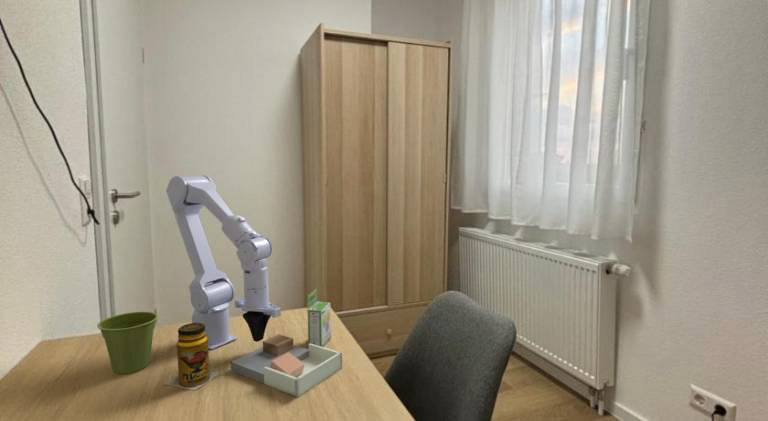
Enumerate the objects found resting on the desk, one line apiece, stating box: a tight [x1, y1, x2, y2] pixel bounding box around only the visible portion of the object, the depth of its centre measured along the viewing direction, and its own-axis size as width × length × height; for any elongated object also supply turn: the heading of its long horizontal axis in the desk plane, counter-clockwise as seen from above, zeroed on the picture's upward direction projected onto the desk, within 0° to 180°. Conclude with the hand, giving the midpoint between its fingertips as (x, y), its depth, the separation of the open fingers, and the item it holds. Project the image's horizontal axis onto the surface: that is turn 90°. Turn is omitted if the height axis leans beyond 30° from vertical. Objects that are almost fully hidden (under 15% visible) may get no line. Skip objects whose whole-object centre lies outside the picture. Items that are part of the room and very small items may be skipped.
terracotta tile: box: [270, 352, 305, 377], centre depth 89 cm, size 5×5×2 cm
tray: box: [263, 343, 343, 398], centre depth 90 cm, size 10×14×4 cm
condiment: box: [163, 322, 220, 391], centre depth 89 cm, size 7×8×12 cm
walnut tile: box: [262, 333, 294, 356], centre depth 99 cm, size 5×5×2 cm
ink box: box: [306, 288, 332, 348], centre depth 107 cm, size 7×4×13 cm, turn 168°
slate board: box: [230, 344, 309, 384], centre depth 96 cm, size 11×14×2 cm
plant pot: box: [96, 311, 159, 375], centre depth 95 cm, size 12×12×11 cm
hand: (258, 339), depth 103 cm, fingers closed
